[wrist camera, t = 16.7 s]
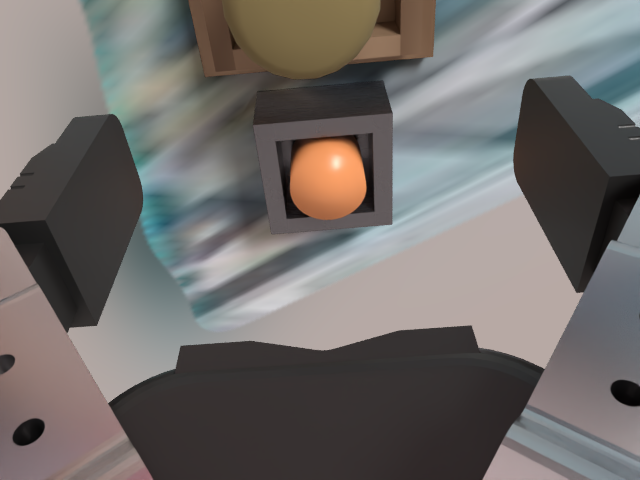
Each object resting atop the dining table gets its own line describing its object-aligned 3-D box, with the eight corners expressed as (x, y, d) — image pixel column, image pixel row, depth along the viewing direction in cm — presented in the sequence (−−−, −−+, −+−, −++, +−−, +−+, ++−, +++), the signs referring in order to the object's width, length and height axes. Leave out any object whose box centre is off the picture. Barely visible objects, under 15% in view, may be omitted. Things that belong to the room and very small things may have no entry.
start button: (359, 121, 31) (365, 152, 28) (362, 182, 33) (367, 216, 31) (286, 127, 31) (285, 159, 28) (294, 188, 33) (294, 222, 31)
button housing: (383, 80, 31) (392, 113, 28) (384, 186, 35) (392, 224, 32) (257, 91, 31) (252, 125, 28) (274, 195, 36) (271, 234, 32)
